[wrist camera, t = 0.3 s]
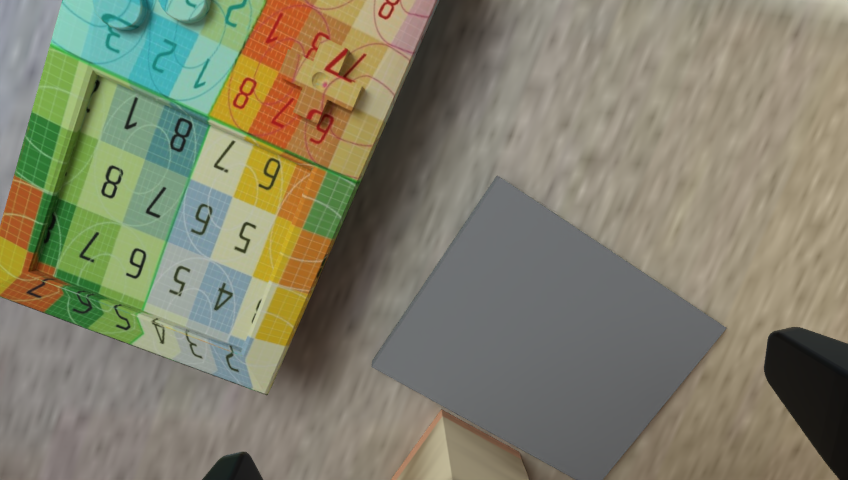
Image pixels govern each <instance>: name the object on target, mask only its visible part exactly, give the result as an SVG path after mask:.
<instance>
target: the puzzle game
mask: <svg viewBox="0 0 848 480" xmlns="http://www.w3.org/2000/svg"><path fill="white" fill-rule="evenodd" d="M438 3H439V0H62V4H61V7H60V11H59V15H58V18H57V22H56V25H55V29H54V33H53V36H52V40H51V44H50V47H49V51H48V54H47V58H46V62H45V65H44V69H43V73H42V76H41V80H40V84H39V87H38V91H37V94H36V98H35V102H34V105H33V109H32V113H31V116H30V120H29V123H28V127H27V131H26V134H25V138H24V142H23V145H22V149H21V152H20V156H19V160H18V163H17V167H16V171H15V174H14V178H13V181H12V185H11V189H10V192H9V196H8V200H7V203H6V207H5V211H4V214H3V218H2V221H1V225H0V297H2V298H5V299H7V300H10V301H13V302H15V303H18V304H21V305H24V306H26V307H29V308H32V309H34V310H37V311H40V312H43V313H45V314H48V315H51V316H53V317H56V318H59V319H62V320H64V321H67V322H70V323H72V324H75V325H78V326H81V327H83V328H86V329H89V330H91V331H94V332H97V333H100V334H102V335H105V336H108V337H110V338H113V339H116V340H119V341H121V342H124V343H127V344H129V345H132V346H135V347H138V348H140V349H143V350H146V351H148V352H151V353H154V354H157V355H159V356H162V357H165V358H167V359H170V360H173V361H176V362H178V363H181V364H184V365H186V366H189V367H192V368H195V369H197V370H200V371H203V372H205V373H208V374H211V375H214V376H216V377H219V378H222V379H224V380H227V381H230V382H233V383H235V384H238V385H241V386H243V387H246V388H249V389H251V390H254V391H257V392H260V393H262V394H265V395H268V393H269V391H270V389H271V387H272V384H273V382H274V380H275V378H276V376H277V373H278V371H279V369H280V366H281V364H282V362H283V359H284V357H285V355H286V353H287V350H288V348H289V346H290V343H291V341H292V339H293V336H294V334H295V332H296V330H297V327H298V325H299V323H300V320H301V318H302V316H303V313H304V311H305V309H306V307H307V304H308V302H309V300H310V297H311V295H312V293H313V290H314V288H315V286H316V284H317V281H318V279H319V277H320V274H321V272H322V270H323V267H324V265H325V263H326V261H327V258H328V256H329V254H330V251H331V249H332V247H333V244H334V242H335V240H336V238H337V235H338V233H339V231H340V228H341V226H342V224H343V221H344V219H345V217H346V214H347V212H348V210H349V208H350V205H351V203H352V201H353V198H354V196H355V194H356V191H357V189H358V187H359V185H360V182H361V180H362V178H363V175H364V173H365V171H366V168H367V166H368V164H369V162H370V159H371V157H372V155H373V152H374V150H375V148H376V145H377V143H378V141H379V139H380V136H381V134H382V132H383V129H384V127H385V125H386V122H387V120H388V118H389V116H390V113H391V111H392V109H393V106H394V104H395V102H396V99H397V97H398V95H399V93H400V90H401V88H402V86H403V83H404V81H405V79H406V76H407V74H408V72H409V70H410V67H411V65H412V63H413V60H414V58H415V56H416V53H417V51H418V49H419V46H420V44H421V42H422V40H423V37H424V35H425V33H426V30H427V28H428V26H429V23H430V21H431V19H432V17H433V14H434V12H435V10H436V7H437V5H438Z"/></svg>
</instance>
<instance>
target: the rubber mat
mask: <svg viewBox="0 0 848 480" xmlns="http://www.w3.org/2000/svg"><path fill="white" fill-rule="evenodd" d="M725 329H726V327H724V326H723V325H721V324H720V323H718V322H717V321H715V320H714V319H712V318H711V317H709V316H708V315H706V314H705V313H703V312H702V311H700V310H699V309H697V308H696V307H694V306H693V305H691V304H690V303H688V302H687V301H685V300H684V299H682V298H681V297H679V296H678V295H676V294H675V293H673V292H672V291H670V290H669V289H667V288H666V287H664V286H663V285H661V284H660V283H658V282H657V281H655V280H654V279H652V278H651V277H649V276H648V275H646V274H645V273H643V272H642V271H640V270H639V269H637V268H636V267H634V266H633V265H631V264H630V263H628V262H627V261H625V260H624V259H622V258H621V257H619V256H618V255H616V254H615V253H613V252H612V251H610V250H609V249H607V248H606V247H604V246H603V245H601V244H600V243H598V242H597V241H595V240H594V239H592V238H591V237H589V236H588V235H586V234H585V233H583V232H582V231H580V230H579V229H577V228H575V227H574V226H572V225H571V224H569V223H568V222H566V221H565V220H563V219H562V218H560V217H559V216H557V215H556V214H554V213H553V212H551V211H550V210H548V209H547V208H545V207H544V206H542V205H541V204H539V203H538V202H536V201H535V200H533V199H532V198H530V197H529V196H527V195H526V194H524V193H523V192H521V191H520V190H518V189H517V188H515V187H514V186H512V185H511V184H509V183H508V182H506V181H505V180H503V179H502V178H500V177H499V176H496V178H495V179H494V181H493V182H492V184H491V185H490V187H489V188H488V190H487V191H486V193H485V194H484V196H483V197H482V199H481V200H480V202H479V203H478V205H477V206H476V208H475V209H474V210H473V212H472V213H471V215H470V216H469V218H468V219H467V221H466V222H465V224H464V225H463V227H462V228H461V230H460V231H459V233H458V234H457V236H456V237H455V239H454V240H453V242H452V243H451V245H450V246H449V248H448V249H447V251H446V252H445V254H444V255H443V257H442V258H441V260H440V261H439V263H438V264H437V266H436V267H435V269H434V270H433V271H432V273H431V274H430V276H429V277H428V279H427V280H426V282H425V283H424V285H423V286H422V288H421V289H420V291H419V292H418V294H417V295H416V297H415V298H414V300H413V301H412V303H411V304H410V306H409V307H408V309H407V310H406V312H405V313H404V315H403V316H402V318H401V319H400V321H399V322H398V324H397V325H396V327H395V328H394V329H393V331H392V332H391V334H390V335H389V337H388V338H387V340H386V341H385V343H384V344H383V346H382V347H381V349H380V350H379V352H378V353H377V355H376V356H375V358H374V359H373V361H372V367H373V368H375V369H376V370H378V371H380V372H382V373H384V374H386V375H387V376H389V377H391V378H393V379H395V380H396V381H398V382H400V383H402V384H404V385H405V386H407V387H409V388H411V389H413V390H414V391H416V392H418V393H420V394H422V395H424V396H425V397H427V398H429V399H431V400H433V401H434V402H436V403H438V404H440V405H442V406H443V407H445V408H447V409H449V410H451V411H452V412H454V413H456V414H458V415H460V416H462V417H463V418H465V419H467V420H469V421H471V422H472V423H474V424H476V425H478V426H480V427H481V428H483V429H485V430H487V431H489V432H491V433H492V434H494V435H496V436H498V437H500V438H501V439H503V440H505V441H507V442H509V443H510V444H512V445H514V446H516V447H518V448H519V449H521V450H523V451H525V452H527V453H529V454H530V455H532V456H534V457H536V458H538V459H539V460H541V461H543V462H545V463H547V464H548V465H550V466H552V467H554V468H556V469H557V470H559V471H561V472H563V473H565V474H567V475H568V476H570V477H572V478H574V479H576V480H603V479H604V477H605V476H606V475H607V474H608V473H609V471H610V470H611V469H612V468H613V466H614V465H615V464H616V463H617V462H618V460H619V459H620V458H621V457H622V455H623V454H624V453H625V452H626V451H627V449H628V448H629V447H630V446H631V444H632V443H633V442H634V441H635V440H636V438H637V437H638V436H639V435H640V433H641V432H642V431H643V430H644V429H645V427H646V426H647V425H648V424H649V422H650V421H651V420H652V419H653V418H654V416H655V415H656V414H657V413H658V411H659V410H660V409H661V408H662V407H663V405H664V404H665V403H666V402H667V400H668V399H669V398H670V397H671V396H672V394H673V393H674V392H675V391H676V389H677V388H678V387H679V386H680V385H681V383H682V382H683V381H684V380H685V378H686V377H687V376H688V375H689V374H690V372H691V371H692V370H693V369H694V367H695V366H696V365H697V364H698V363H699V361H700V360H701V359H702V358H703V356H704V355H705V354H706V353H707V352H708V350H709V349H710V348H711V347H712V345H713V344H714V343H715V342H716V340H717V339H718V338H719V337H720V336H721V334H722V333H723V332H724V331H725Z"/></svg>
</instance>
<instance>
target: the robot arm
mask: <svg viewBox="0 0 848 480" xmlns="http://www.w3.org/2000/svg"><path fill="white" fill-rule="evenodd" d="M764 372H765V376H766V379H767V381H768V383H769V384H770V386H771V387H772V388H773V390H774V391H775V393H776V394H777V395H778V397H779V398H780V400H781V401H782V403H783V404H784V405H785V407H786V408H787V410H788V411H789V412H790V414H791V415H792V417H793V418H794V419H795V421H796V422H797V424H798V425H799V426H800V428H801V429H802V431H803V432H804V433H805V435H806V436H807V438H808V439H809V440H810V442H811V443H812V445H813V446H814V447H815V449H816V450H817V452H818V453H819V454H820V456H821V457H822V458H823V460H824V461H825V462H826V464H827V465H828V466H829V467H830V469H831V470H832V471H833V472H834V473H835V475H836V476H837V477H838V478H839V480H848V344H847V343H844V342H841V341H838V340H836V339H833V338H830V337H827V336H824V335H821V334H818V333H815V332H812V331H809V330H806V329H803V328H800V327H791V328H786V329H782V330H777V331H774V332H772V333H771V334H770V335H769V337H768V341H767V349H766V357H765V364H764ZM202 480H263V478H262V477H261V475H260V473H259V471H258V469H257V467H256V465H255V463H254V462H253V460H252V458H251V456H250V455H249V454H248V453H247V452H239V453H234V454H230V455H226V456H223V457H222V458H220V459H219V460H218V461H217V463H216V464H215V465H214V466H213V467H212V468H211V470H210V471H209V472H208V473H207V474H206V476H205V477H204V478H203V479H202Z"/></svg>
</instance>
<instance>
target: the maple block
mask: <svg viewBox="0 0 848 480" xmlns="http://www.w3.org/2000/svg"><path fill="white" fill-rule="evenodd" d="M391 480H529V478H528V475H527V473H526V470H525V467H524V464H523V462H522V459H521V456H520V454H519V452H518V451H516V450H515V449H513V448H511V447H509V446H507V445H505V444H504V443H502V442H500V441H498V440H496V439H495V438H493V437H491V436H489V435H487V434H485V433H484V432H482V431H480V430H478V429H476V428H474V427H473V426H471V425H469V424H467V423H465V422H464V421H462V420H460V419H458V418H456V417H454V416H453V415H451V414H449V413H447V412H445V411H444V410H442V409H441V411H440V412H439V413H438V415H437V416H436V418H435V419H434V420H433V422H432V423H431V425H430V426H429V427H428V429H427V430H426V432H425V433H424V434H423V436H422V437H421V438H420V440H419V441H418V443H417V444H416V445H415V447H414V448H413V450H412V451H411V452H410V454H409V455H408V457H407V458H406V459H405V461H404V462H403V464H402V465H401V466H400V468H399V469H398V471H397V472H396V473H395V475H394V476H393V477H392V479H391Z"/></svg>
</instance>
